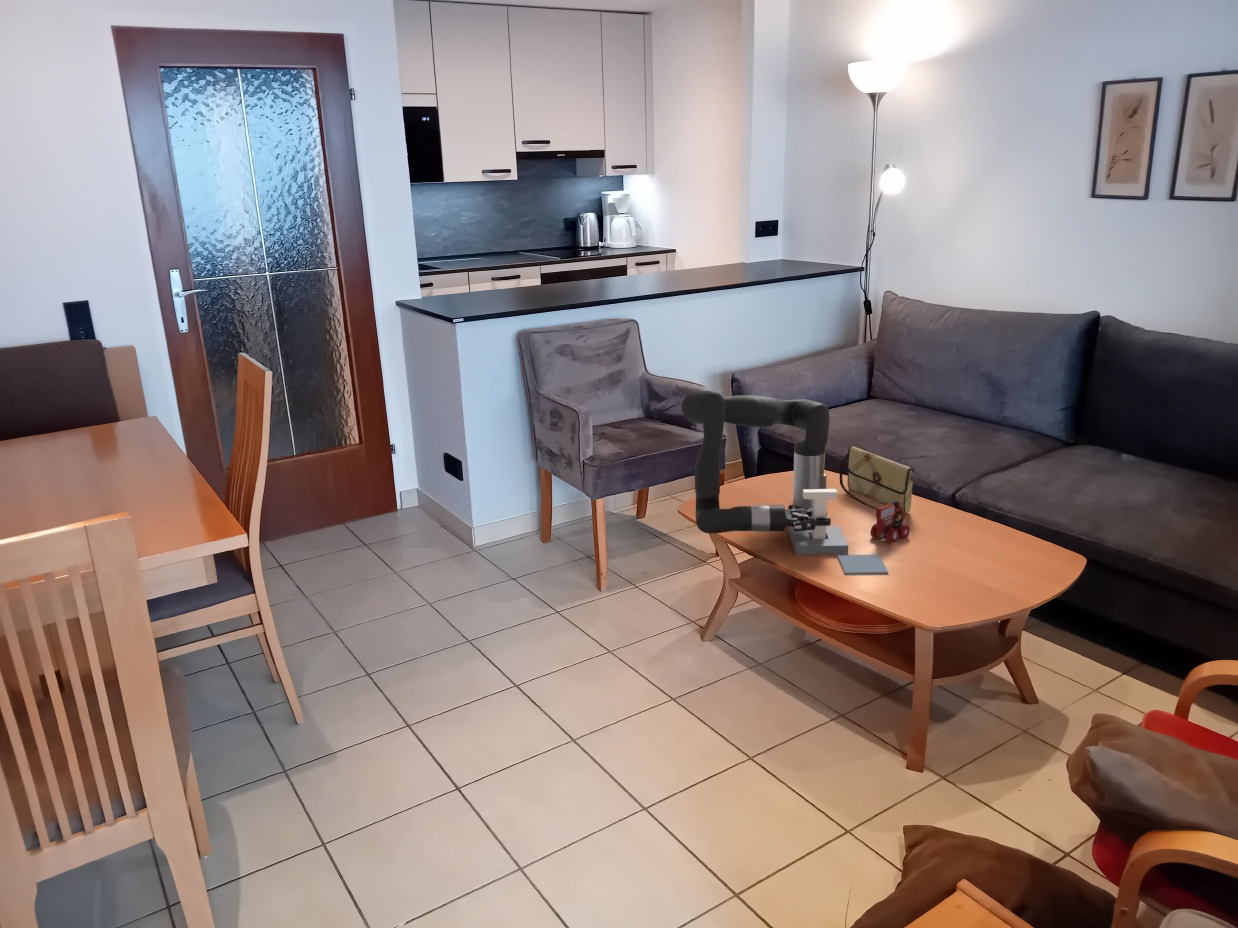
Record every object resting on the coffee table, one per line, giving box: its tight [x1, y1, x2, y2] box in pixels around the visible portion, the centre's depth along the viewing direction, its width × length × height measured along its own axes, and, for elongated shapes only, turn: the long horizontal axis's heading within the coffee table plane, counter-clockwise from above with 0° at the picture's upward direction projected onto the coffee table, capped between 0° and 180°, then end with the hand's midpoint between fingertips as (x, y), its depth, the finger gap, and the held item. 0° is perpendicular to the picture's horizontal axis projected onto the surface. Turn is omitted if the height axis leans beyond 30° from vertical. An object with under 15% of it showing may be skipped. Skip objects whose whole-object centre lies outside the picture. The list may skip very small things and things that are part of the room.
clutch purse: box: [839, 445, 915, 515], centre depth 273 cm, size 30×7×15 cm, turn 27°
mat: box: [837, 553, 889, 575], centre depth 233 cm, size 11×11×1 cm
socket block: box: [789, 525, 849, 556], centre depth 247 cm, size 14×14×2 cm
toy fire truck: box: [870, 501, 911, 544], centre depth 248 cm, size 7×12×10 cm, turn 128°
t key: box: [803, 488, 838, 539], centre depth 245 cm, size 9×3×16 cm, turn 87°
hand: (828, 517), depth 245 cm, fingers open, 5 cm apart
